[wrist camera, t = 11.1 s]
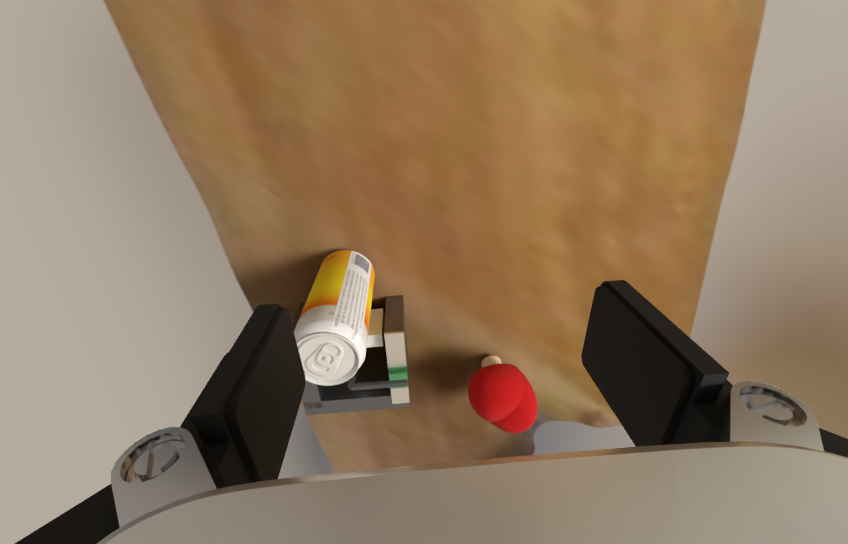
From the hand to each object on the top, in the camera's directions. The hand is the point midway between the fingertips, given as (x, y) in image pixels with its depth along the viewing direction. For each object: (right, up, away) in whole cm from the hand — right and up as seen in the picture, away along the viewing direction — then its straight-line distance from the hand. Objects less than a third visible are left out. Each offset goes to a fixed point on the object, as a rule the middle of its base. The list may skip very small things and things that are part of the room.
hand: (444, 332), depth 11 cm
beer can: (-9, +2, +31) cm, 32 cm away
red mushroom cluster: (+8, -10, +38) cm, 40 cm away
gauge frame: (-9, -6, +35) cm, 36 cm away
